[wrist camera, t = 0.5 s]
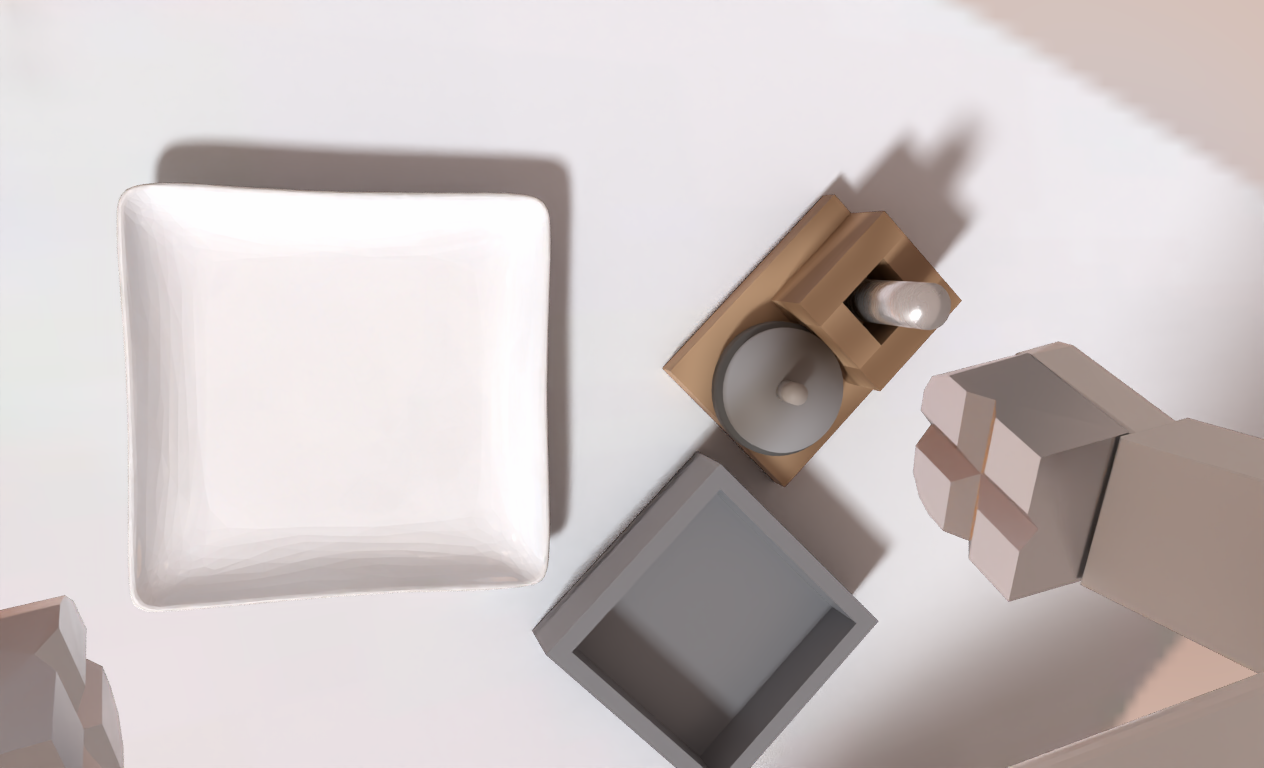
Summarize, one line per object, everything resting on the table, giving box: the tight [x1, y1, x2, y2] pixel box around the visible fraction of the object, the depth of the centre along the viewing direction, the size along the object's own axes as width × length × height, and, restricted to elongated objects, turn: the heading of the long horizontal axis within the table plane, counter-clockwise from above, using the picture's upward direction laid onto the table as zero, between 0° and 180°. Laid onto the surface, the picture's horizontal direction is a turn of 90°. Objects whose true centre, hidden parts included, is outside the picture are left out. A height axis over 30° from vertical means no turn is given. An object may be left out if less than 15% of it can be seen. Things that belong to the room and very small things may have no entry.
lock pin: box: [843, 279, 951, 330], centre depth 62 cm, size 2×2×9 cm
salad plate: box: [117, 183, 551, 612], centre depth 59 cm, size 21×21×3 cm
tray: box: [532, 452, 878, 768], centre depth 65 cm, size 14×14×4 cm
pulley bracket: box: [662, 194, 962, 487], centre depth 64 cm, size 10×14×6 cm
